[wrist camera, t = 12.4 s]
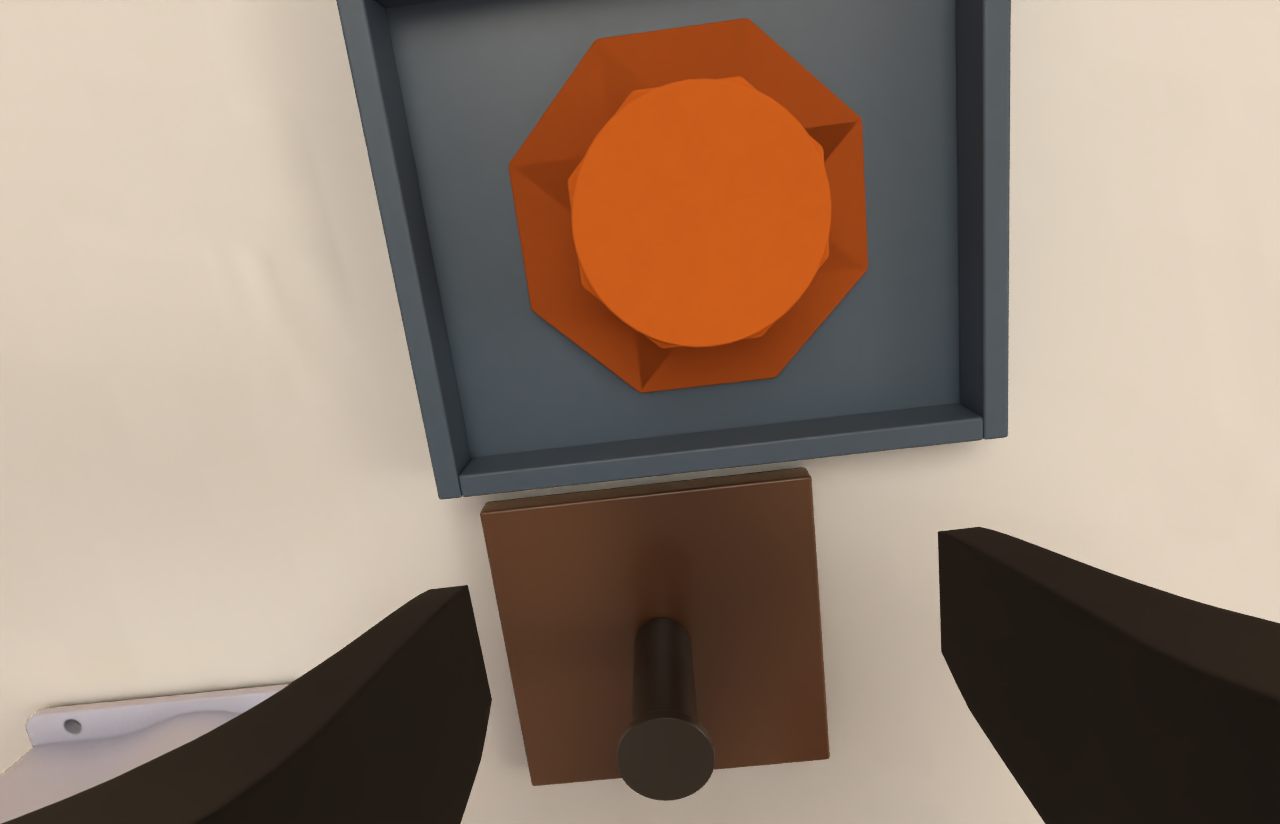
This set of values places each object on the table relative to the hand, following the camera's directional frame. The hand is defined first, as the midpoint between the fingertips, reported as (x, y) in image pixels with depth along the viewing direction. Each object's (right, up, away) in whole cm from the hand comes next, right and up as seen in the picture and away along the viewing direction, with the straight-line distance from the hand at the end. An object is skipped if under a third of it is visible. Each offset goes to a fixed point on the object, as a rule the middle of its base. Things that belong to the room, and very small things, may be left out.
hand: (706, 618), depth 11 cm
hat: (0, +8, +7) cm, 11 cm away
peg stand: (0, -3, +11) cm, 11 cm away
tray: (0, +8, +7) cm, 11 cm away
